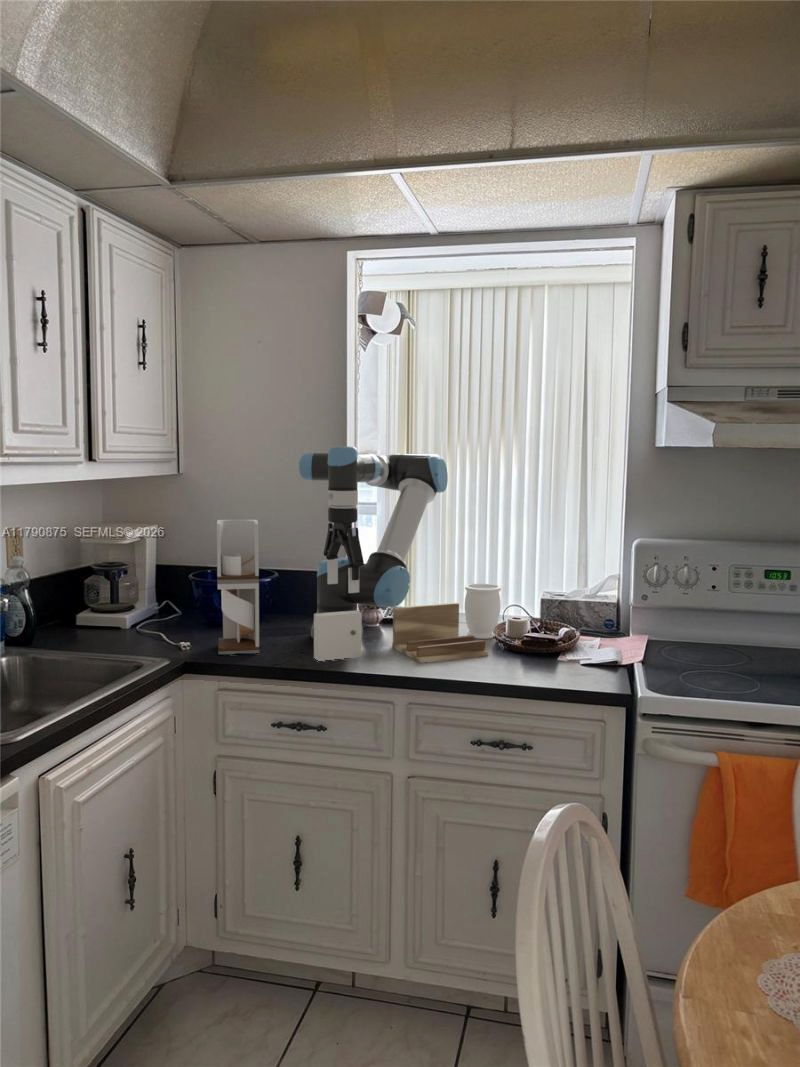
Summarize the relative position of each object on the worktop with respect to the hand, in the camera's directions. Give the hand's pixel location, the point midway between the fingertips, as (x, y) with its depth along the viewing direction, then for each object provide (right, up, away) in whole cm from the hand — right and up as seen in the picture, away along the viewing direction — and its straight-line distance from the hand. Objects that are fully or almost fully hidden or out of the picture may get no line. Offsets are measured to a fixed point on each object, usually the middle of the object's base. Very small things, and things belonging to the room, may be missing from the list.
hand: (342, 588), depth 208 cm
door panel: (-2, -19, +2) cm, 19 cm away
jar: (+39, -16, +29) cm, 51 cm away
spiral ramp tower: (-29, -18, +9) cm, 35 cm away
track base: (+26, -18, +10) cm, 33 cm away
